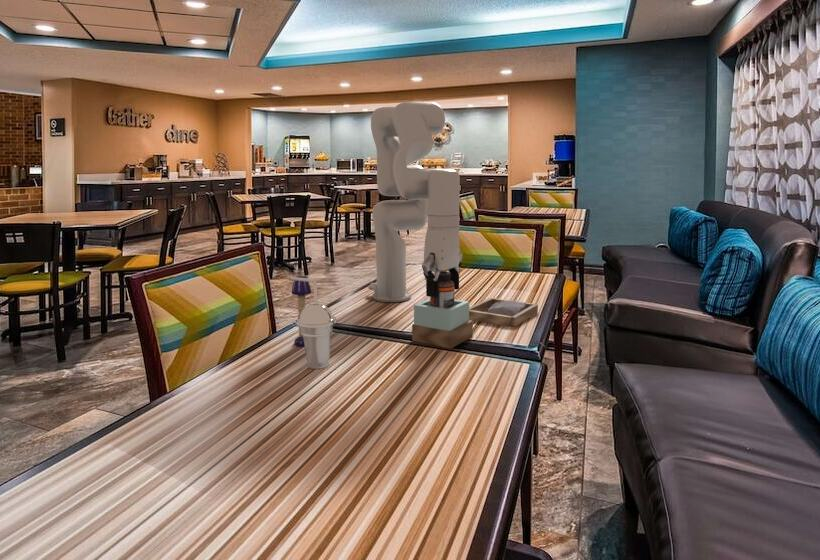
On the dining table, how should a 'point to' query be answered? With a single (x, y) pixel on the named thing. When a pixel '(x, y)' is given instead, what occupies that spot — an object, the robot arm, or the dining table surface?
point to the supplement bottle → (444, 292)
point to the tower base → (442, 335)
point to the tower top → (441, 315)
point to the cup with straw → (316, 330)
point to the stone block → (507, 308)
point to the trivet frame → (479, 315)
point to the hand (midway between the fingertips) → (443, 292)
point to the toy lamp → (300, 303)
